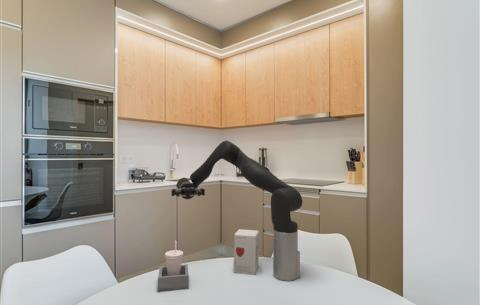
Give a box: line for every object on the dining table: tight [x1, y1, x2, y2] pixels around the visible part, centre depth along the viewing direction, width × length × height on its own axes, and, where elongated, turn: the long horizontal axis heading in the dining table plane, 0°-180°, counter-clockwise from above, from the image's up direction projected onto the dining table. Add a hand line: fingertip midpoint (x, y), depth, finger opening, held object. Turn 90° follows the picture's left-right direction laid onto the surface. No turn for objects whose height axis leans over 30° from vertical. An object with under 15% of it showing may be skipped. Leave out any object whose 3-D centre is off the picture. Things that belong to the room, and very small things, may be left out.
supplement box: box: [233, 228, 260, 276], centre depth 105 cm, size 9×9×15 cm
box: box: [157, 263, 190, 293], centre depth 92 cm, size 10×10×4 cm
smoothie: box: [164, 239, 184, 276], centre depth 92 cm, size 6×6×14 cm
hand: (188, 193), depth 108 cm, fingers open, 8 cm apart
